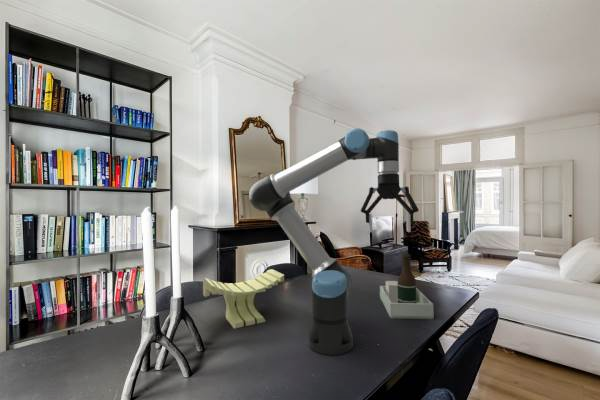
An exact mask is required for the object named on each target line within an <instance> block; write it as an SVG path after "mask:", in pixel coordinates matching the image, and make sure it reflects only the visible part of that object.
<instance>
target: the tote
mask: <svg viewBox="0 0 600 400" xmlns="http://www.w3.org/2000/svg"><path fill="white" fill-rule="evenodd" d="M379 298H380V300H381V303H382V304H383V307H384V308H385V310H386V313H387V314H388V317H389V318H390V319H404V320H405V319H406V320H407V319H410V320H416V319H417V320H434V319H435V317H434V314H435V313H434V303H433V302H431V300H429V298H427V296H426V295H425V294H424V293H423V292H421V290H420V289H418V288H417V287H416V303H392V302H391V301H390V299H389V297H388V296H387V294H386V285H379Z"/></svg>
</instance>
